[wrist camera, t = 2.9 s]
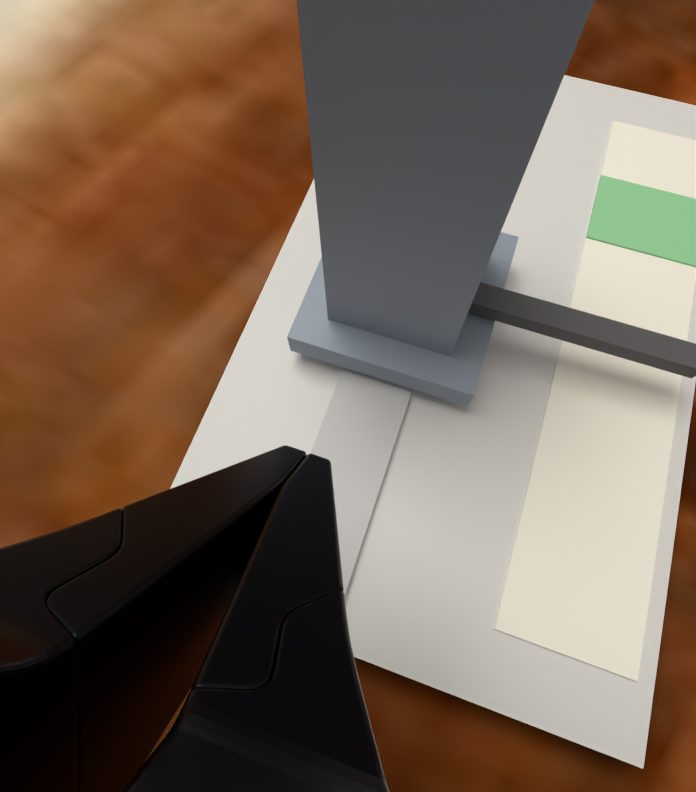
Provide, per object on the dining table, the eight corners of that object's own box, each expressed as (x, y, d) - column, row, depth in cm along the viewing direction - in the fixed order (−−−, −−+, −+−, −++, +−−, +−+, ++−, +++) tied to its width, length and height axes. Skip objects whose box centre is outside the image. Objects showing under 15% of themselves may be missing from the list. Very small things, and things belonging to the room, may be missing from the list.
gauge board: (616, 752, 15) (649, 772, 14) (150, 572, 17) (127, 570, 16) (708, 143, 23) (736, 107, 21) (380, 64, 25) (382, 26, 23)
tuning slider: (659, 467, 16) (1369, 176, 5) (290, 350, 18) (176, -79, 6) (684, 303, 18) (1231, -177, 7) (350, 210, 20) (344, -310, 8)
